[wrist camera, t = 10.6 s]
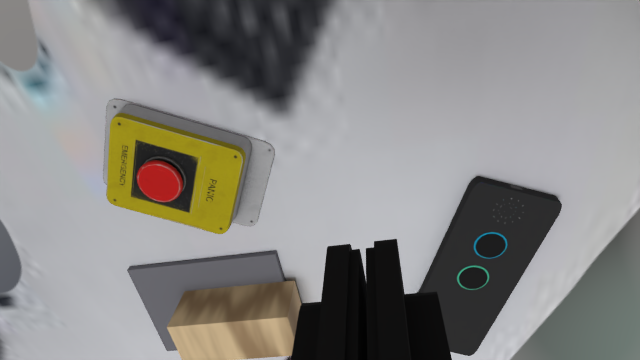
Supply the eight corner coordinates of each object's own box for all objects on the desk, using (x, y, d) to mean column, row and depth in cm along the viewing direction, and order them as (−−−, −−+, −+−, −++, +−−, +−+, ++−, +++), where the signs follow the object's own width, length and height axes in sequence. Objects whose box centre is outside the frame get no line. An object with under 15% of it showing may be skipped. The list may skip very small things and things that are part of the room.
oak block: (287, 317, 41) (166, 327, 43) (299, 355, 44) (183, 363, 46) (294, 280, 46) (184, 291, 48) (304, 316, 48) (199, 325, 50)
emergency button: (82, 110, 35) (269, 164, 36) (110, 93, 39) (278, 142, 40) (80, 207, 39) (246, 252, 40) (105, 183, 43) (256, 225, 44)
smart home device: (567, 204, 38) (474, 358, 48) (560, 194, 40) (471, 345, 50) (474, 181, 38) (399, 340, 48) (470, 171, 40) (398, 328, 49)
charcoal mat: (276, 250, 45) (275, 254, 44) (301, 336, 50) (300, 340, 50) (129, 266, 47) (127, 270, 47) (168, 346, 53) (167, 351, 52)
